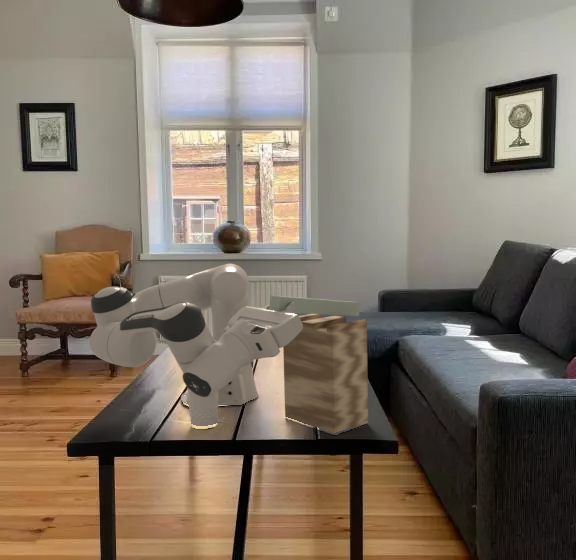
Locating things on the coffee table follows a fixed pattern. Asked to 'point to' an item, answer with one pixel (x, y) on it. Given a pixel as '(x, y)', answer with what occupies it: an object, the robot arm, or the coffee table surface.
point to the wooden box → (327, 373)
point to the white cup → (203, 409)
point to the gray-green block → (315, 306)
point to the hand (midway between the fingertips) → (286, 303)
